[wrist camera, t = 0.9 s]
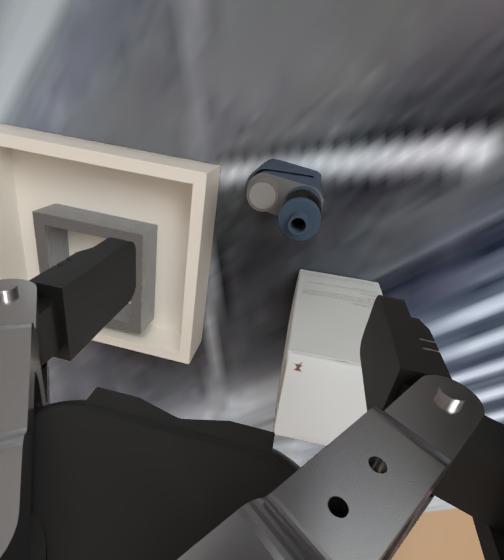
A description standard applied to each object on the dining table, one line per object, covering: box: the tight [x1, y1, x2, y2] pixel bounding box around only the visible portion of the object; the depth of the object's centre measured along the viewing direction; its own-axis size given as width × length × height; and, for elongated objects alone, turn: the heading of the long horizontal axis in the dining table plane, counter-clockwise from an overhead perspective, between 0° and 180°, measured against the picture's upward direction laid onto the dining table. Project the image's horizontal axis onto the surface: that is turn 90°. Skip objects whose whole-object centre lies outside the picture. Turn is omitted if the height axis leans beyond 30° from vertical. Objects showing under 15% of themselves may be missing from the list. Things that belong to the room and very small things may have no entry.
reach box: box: [0, 124, 221, 364], centre depth 33 cm, size 18×20×4 cm
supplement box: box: [273, 269, 382, 446], centre depth 28 cm, size 7×7×13 cm
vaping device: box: [246, 159, 324, 241], centre depth 24 cm, size 3×5×12 cm, turn 75°
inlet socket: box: [32, 203, 158, 334], centre depth 34 cm, size 10×10×3 cm
